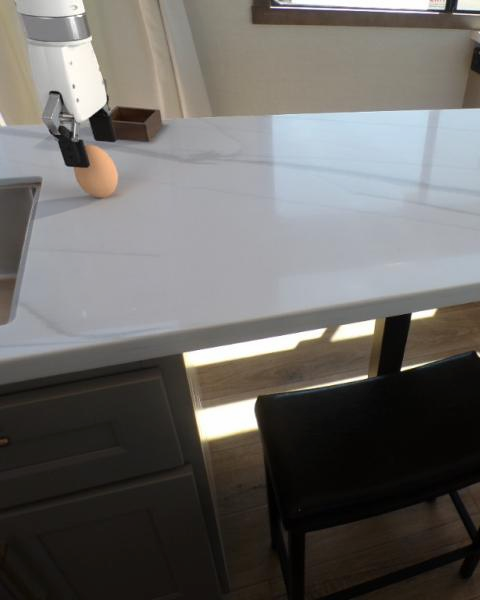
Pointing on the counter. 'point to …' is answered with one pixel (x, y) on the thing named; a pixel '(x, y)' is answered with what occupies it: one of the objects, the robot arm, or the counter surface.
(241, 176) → the counter surface
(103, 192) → the egg
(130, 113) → the open wooden tray
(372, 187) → the counter surface
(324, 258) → the counter surface
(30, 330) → the counter surface
